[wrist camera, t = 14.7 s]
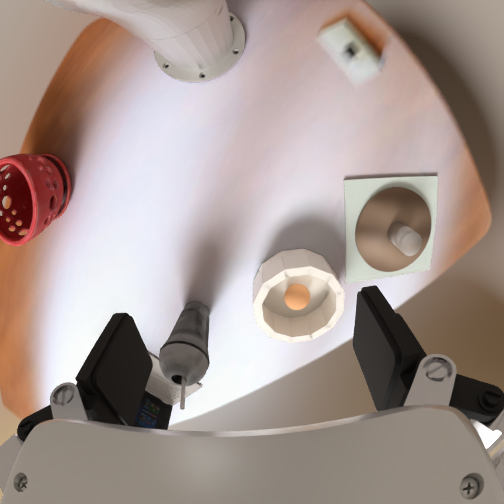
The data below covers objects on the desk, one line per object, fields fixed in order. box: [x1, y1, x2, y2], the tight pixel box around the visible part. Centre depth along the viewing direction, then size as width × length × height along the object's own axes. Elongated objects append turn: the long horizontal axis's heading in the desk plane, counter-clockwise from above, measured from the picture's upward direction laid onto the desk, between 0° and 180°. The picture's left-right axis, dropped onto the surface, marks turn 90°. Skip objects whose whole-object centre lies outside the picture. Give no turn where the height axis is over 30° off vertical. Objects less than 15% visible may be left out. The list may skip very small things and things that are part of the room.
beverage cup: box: [159, 302, 209, 409], centre depth 38 cm, size 7×7×20 cm
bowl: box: [253, 248, 344, 343], centre depth 42 cm, size 13×13×6 cm
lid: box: [355, 187, 431, 272], centre depth 38 cm, size 14×14×6 cm
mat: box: [344, 176, 438, 284], centre depth 41 cm, size 17×17×1 cm
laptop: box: [132, 354, 202, 430], centre depth 49 cm, size 18×12×13 cm
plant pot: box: [0, 154, 71, 246], centre depth 32 cm, size 13×13×12 cm
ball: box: [284, 284, 310, 310], centre depth 42 cm, size 4×4×4 cm
